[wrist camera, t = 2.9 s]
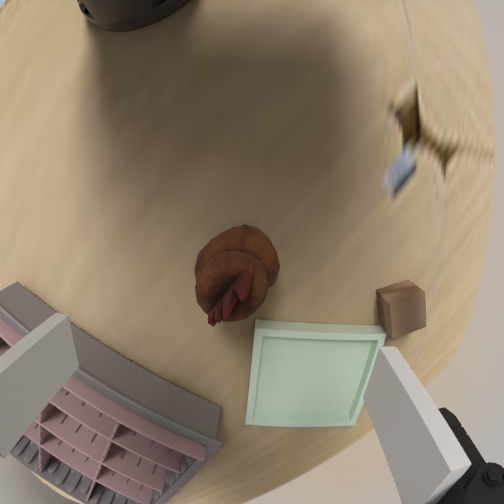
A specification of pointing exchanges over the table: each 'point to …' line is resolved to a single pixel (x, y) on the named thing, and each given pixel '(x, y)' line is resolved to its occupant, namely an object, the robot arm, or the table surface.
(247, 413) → the green tray
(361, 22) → the table surface
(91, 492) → the organizer tray
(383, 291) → the walnut cube
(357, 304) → the table surface
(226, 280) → the wooden figurine
